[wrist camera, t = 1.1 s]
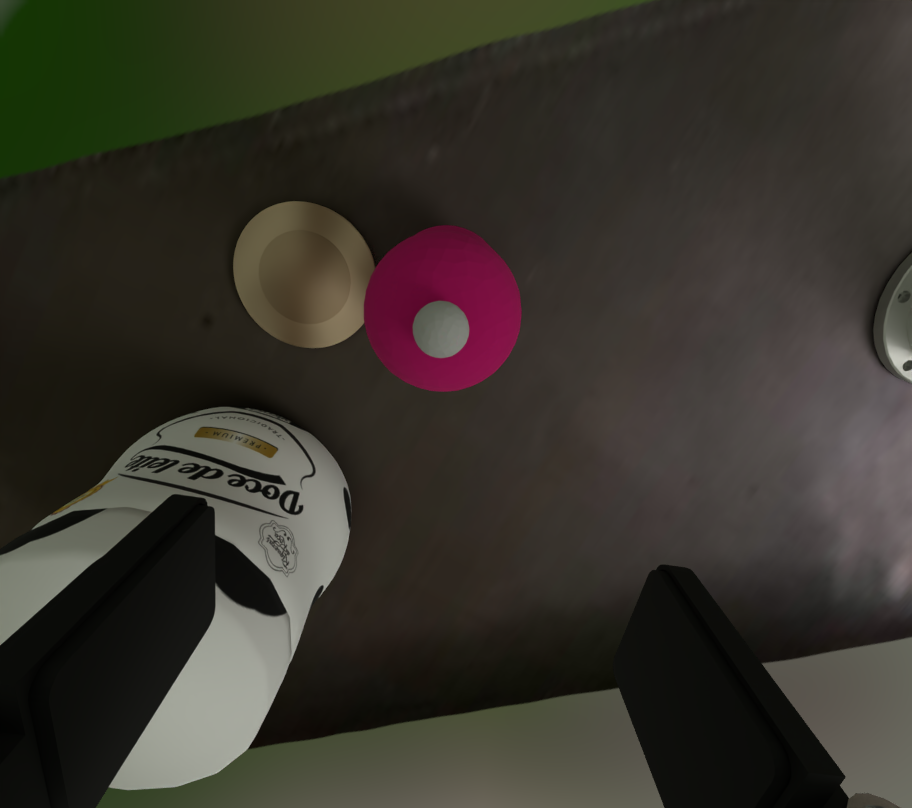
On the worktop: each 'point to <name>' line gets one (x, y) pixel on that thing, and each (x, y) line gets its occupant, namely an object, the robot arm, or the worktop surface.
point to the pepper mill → (442, 309)
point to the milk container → (236, 571)
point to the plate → (303, 274)
